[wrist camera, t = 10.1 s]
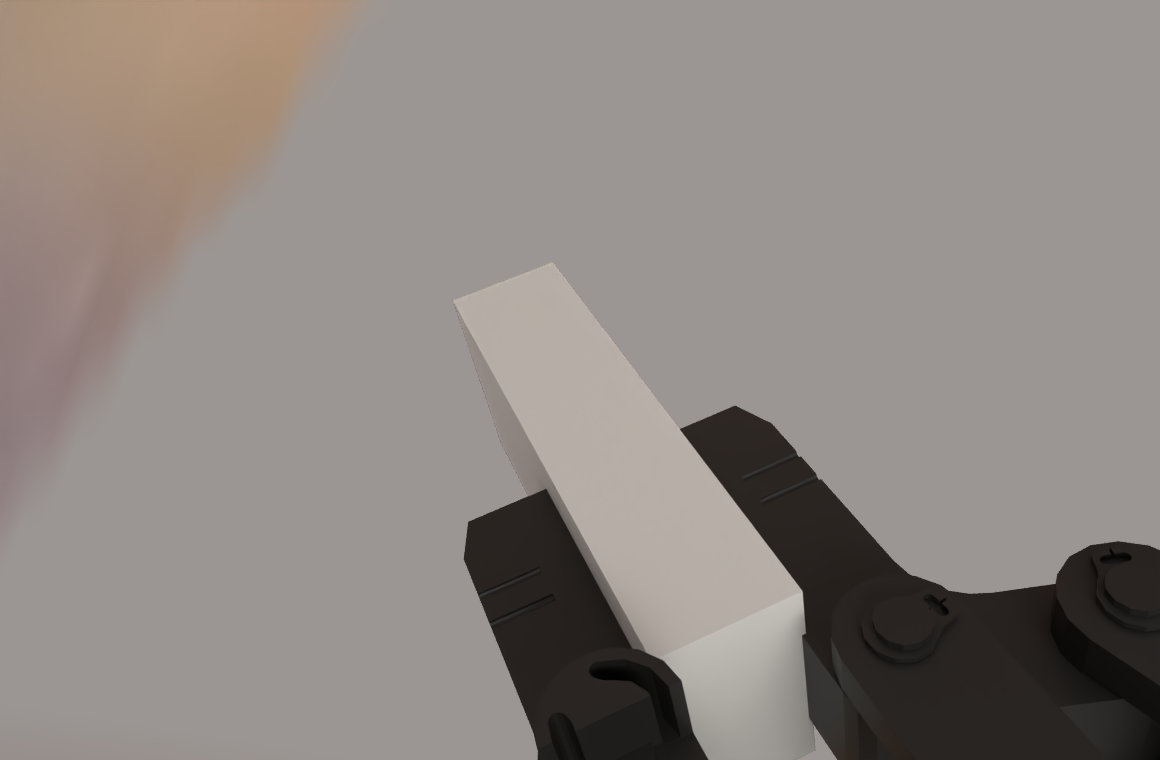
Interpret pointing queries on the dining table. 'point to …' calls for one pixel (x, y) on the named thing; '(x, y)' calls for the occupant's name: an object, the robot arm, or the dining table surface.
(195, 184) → the dining table surface
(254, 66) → the dining table surface
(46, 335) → the dining table surface
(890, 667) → the robot arm
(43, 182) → the dining table surface
